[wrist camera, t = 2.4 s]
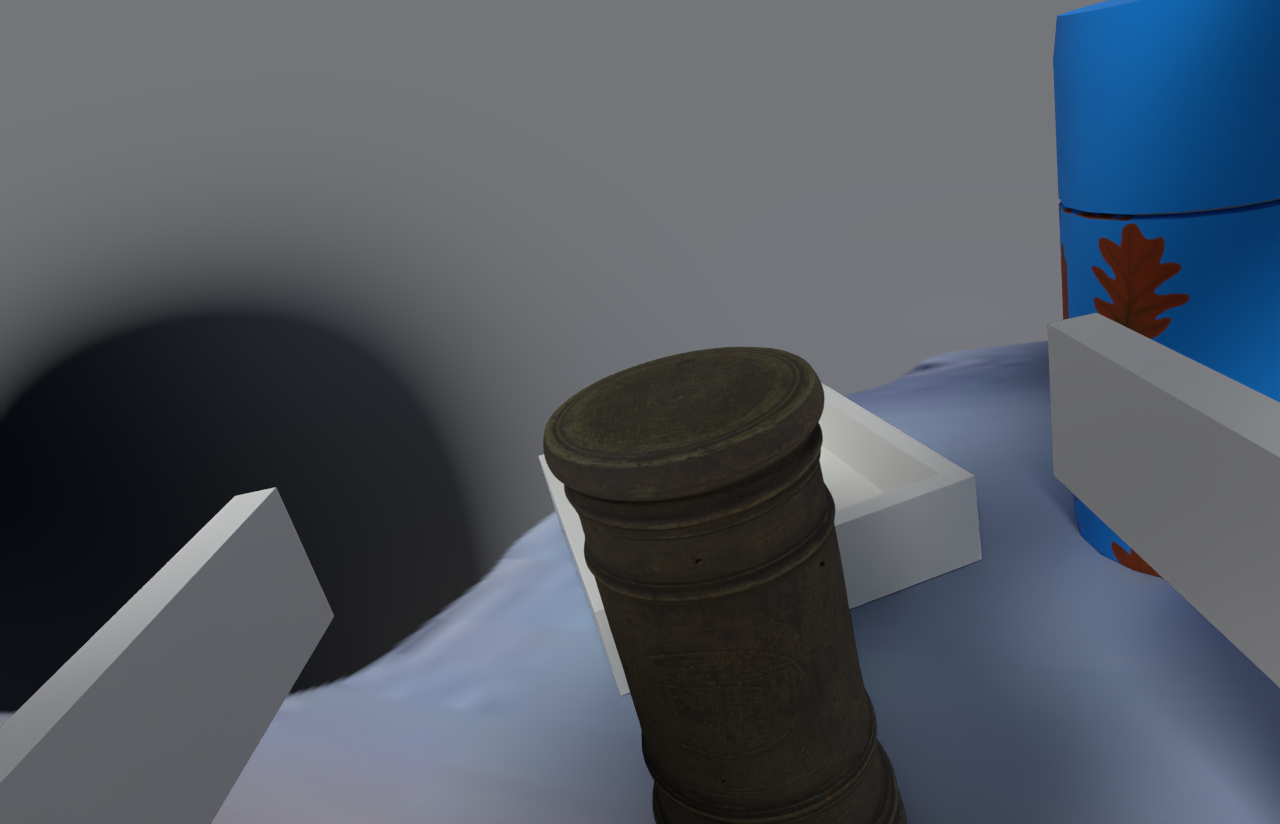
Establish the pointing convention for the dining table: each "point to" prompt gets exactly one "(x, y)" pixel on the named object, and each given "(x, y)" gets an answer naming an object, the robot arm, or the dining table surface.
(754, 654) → the container
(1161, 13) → the thermos
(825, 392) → the white bin
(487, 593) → the dining table surface
